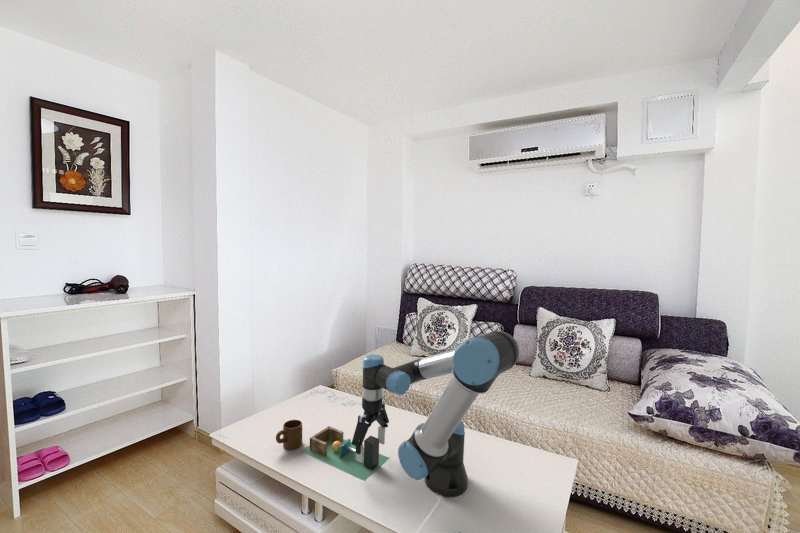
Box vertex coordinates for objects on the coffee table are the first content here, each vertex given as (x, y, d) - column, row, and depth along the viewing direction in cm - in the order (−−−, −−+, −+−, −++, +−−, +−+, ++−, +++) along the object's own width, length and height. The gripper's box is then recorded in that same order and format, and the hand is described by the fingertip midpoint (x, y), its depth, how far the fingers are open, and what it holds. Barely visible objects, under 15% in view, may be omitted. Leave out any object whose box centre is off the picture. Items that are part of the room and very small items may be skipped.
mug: (282, 459, 138) (282, 435, 138) (269, 452, 142) (269, 429, 142) (306, 444, 149) (306, 422, 148) (293, 438, 153) (293, 417, 152)
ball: (344, 450, 144) (344, 440, 144) (337, 455, 141) (337, 445, 141) (336, 447, 146) (336, 437, 146) (329, 451, 143) (329, 442, 143)
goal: (343, 443, 149) (343, 431, 149) (324, 456, 140) (324, 444, 139) (328, 437, 153) (328, 426, 153) (309, 449, 144) (309, 438, 144)
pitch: (389, 459, 140) (389, 457, 140) (364, 482, 126) (364, 480, 126) (328, 434, 157) (328, 433, 157) (300, 452, 143) (300, 451, 143)
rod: (380, 462, 136) (380, 437, 135) (370, 471, 131) (371, 445, 130) (348, 449, 144) (348, 425, 144) (338, 457, 139) (338, 432, 139)
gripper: (383, 383, 145) (381, 433, 147) (342, 407, 124) (340, 465, 126) (398, 388, 141) (397, 439, 143) (359, 413, 120) (357, 473, 122)
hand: (370, 451), depth 135 cm, fingers open, 13 cm apart
